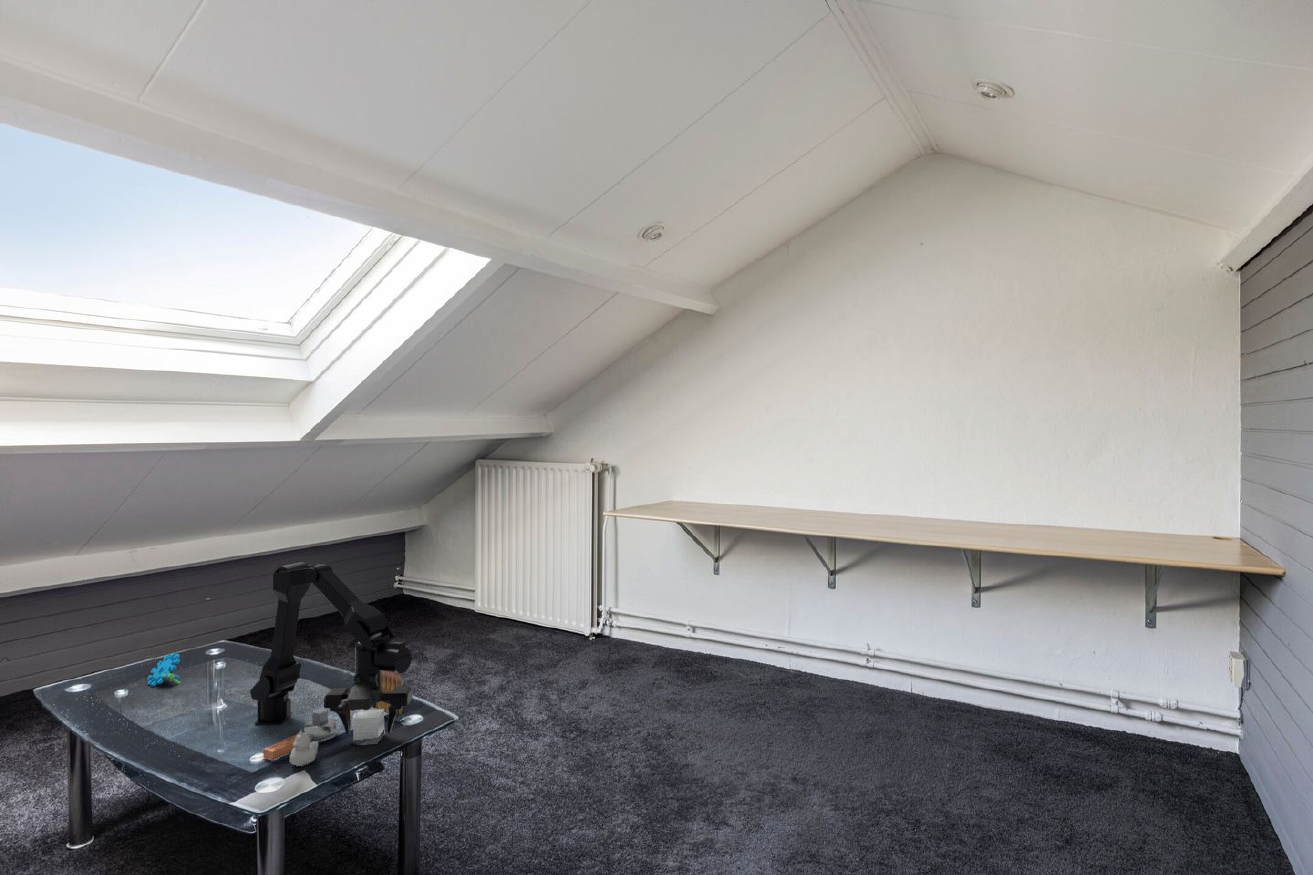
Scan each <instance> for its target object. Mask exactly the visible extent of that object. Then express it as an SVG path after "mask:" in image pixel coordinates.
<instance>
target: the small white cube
mask: <svg viewBox="0 0 1313 875" xmlns="http://www.w3.org/2000/svg"><path fill="white" fill-rule="evenodd" d="M352 719H353V721H352V722H353V723H352V725H353V727H352V732H353V733H352V736H353V739H352V740H353V741H354V740H363V739H373V738H378V737H379V736H380V735H381V733H382V732H383V730H384V731H385V718H384V709H372V708H370V709H369V710H358V712H357V714H355V716H354V717H353V718H352Z"/></svg>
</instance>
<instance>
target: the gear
mask: <svg viewBox="0 0 1313 875" xmlns="http://www.w3.org/2000/svg"><path fill="white" fill-rule="evenodd" d="M180 661H181V659H180V654H178V653H174V652H172V653H171V654H170V655H166V656H164V658H163V661H162V660H159V661H158V662H157V664H156V665H157V667H156V668H155V667H153V668H152V669H151V670H150V673H152V674H153V675H151V674H150V675H148V676H147V680H148V681H147V685H148V684H149V685H148V686H153V687H156V686H157V685H158V684H159V685H160V684H163V682H164V680H165V679H166V680H168V681H169V682H174V683H175V684H177V685H180V684H181V681H180V680H179V678H180V676H179V675H177V674H175V673H174V672H175V670H176V669H178V666H176V665H178V664H180ZM173 671H174V672H173Z"/></svg>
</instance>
